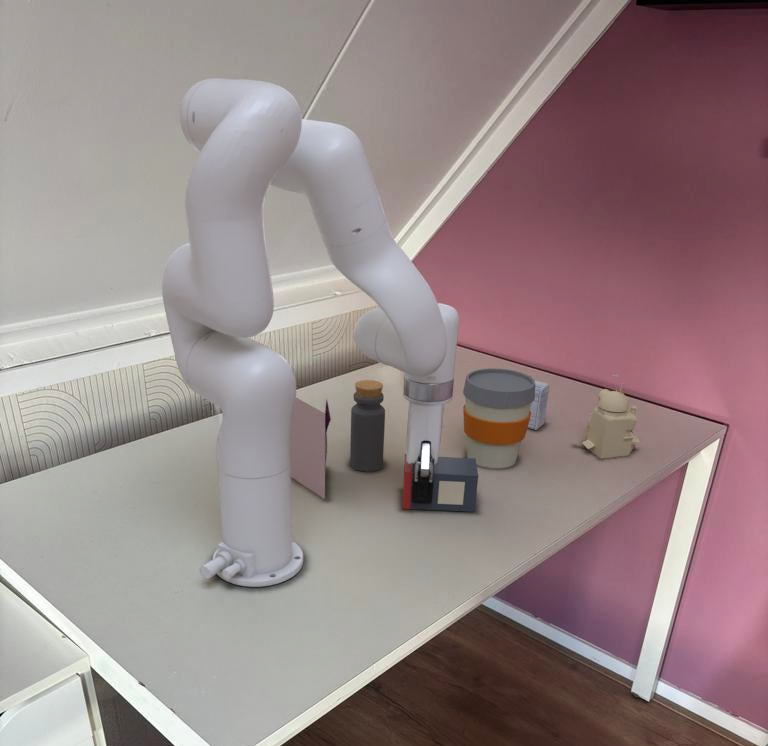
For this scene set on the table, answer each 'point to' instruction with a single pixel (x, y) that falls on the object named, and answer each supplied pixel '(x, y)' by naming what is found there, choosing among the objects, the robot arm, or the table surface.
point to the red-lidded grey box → (445, 485)
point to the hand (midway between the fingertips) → (421, 491)
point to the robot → (611, 426)
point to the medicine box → (539, 405)
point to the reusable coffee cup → (496, 415)
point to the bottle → (367, 427)
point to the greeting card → (309, 446)
